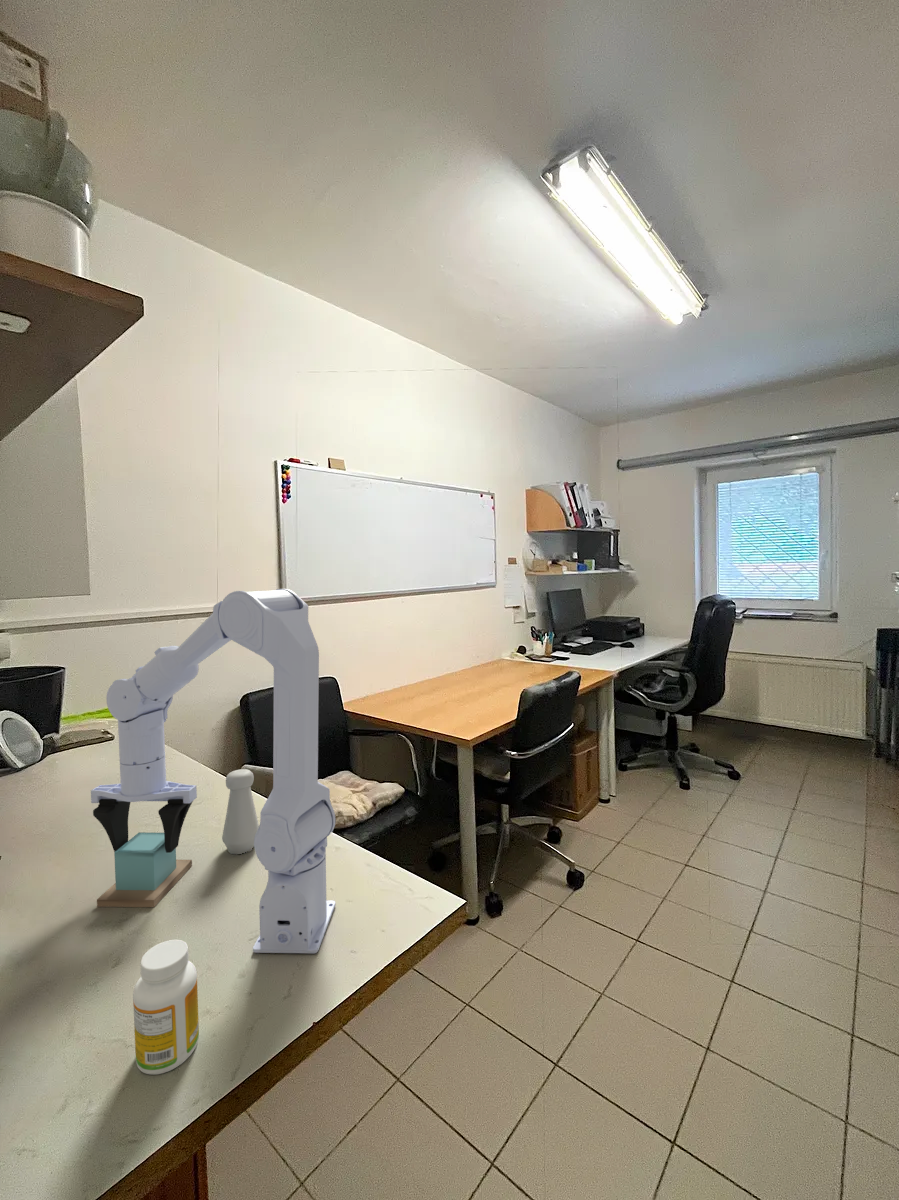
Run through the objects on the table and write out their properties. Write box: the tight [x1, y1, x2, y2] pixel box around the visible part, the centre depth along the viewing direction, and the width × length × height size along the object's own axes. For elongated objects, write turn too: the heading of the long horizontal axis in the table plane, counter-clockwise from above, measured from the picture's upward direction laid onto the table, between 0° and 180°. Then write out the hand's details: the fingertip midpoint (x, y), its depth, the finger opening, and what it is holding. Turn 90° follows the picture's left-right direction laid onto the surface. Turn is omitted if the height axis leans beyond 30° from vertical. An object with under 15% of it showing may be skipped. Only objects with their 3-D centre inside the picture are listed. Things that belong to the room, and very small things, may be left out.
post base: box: [96, 859, 193, 908], centre depth 76 cm, size 10×8×6 cm
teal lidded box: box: [113, 831, 177, 890], centre depth 76 cm, size 6×6×6 cm
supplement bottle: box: [132, 939, 200, 1075], centre depth 50 cm, size 5×5×10 cm
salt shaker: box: [221, 768, 260, 855], centre depth 86 cm, size 6×6×13 cm
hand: (146, 848), depth 76 cm, fingers open, 7 cm apart
